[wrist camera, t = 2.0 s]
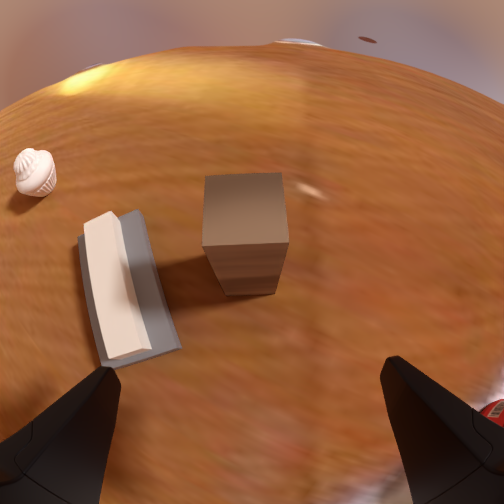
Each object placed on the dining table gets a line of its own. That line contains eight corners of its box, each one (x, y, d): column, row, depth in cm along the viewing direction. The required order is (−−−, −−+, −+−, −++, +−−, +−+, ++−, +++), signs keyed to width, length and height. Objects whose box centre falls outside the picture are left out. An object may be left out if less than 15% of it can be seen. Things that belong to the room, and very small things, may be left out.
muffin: (46, 166, 29) (21, 136, 22) (72, 168, 28) (46, 133, 22) (25, 204, 27) (-5, 176, 20) (50, 209, 26) (17, 178, 20)
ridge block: (182, 348, 21) (169, 346, 18) (111, 370, 20) (90, 371, 17) (143, 216, 25) (129, 197, 22) (85, 242, 24) (66, 228, 21)
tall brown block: (274, 293, 22) (289, 242, 13) (225, 295, 22) (202, 246, 13) (271, 248, 24) (281, 172, 14) (225, 250, 24) (205, 176, 14)
